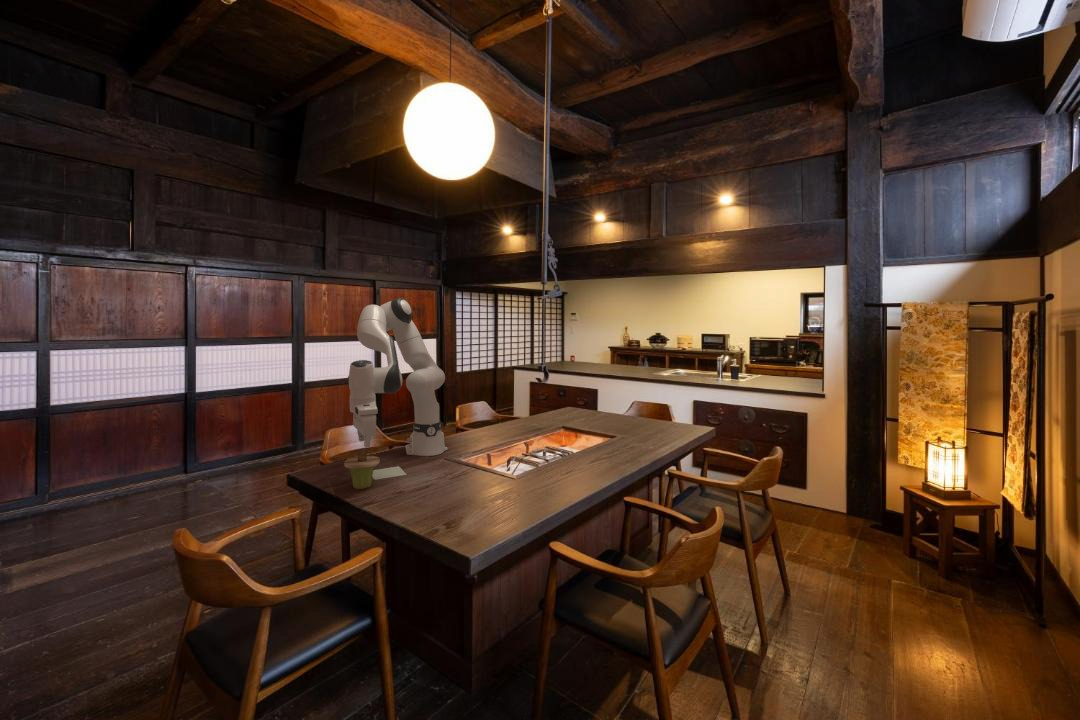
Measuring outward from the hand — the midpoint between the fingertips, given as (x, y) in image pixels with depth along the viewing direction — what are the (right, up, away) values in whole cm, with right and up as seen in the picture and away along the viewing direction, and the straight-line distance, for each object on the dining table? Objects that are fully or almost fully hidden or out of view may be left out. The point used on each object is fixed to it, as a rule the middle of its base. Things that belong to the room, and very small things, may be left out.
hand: (364, 443), depth 168 cm
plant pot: (-1, -16, +2) cm, 16 cm away
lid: (-1, -7, +1) cm, 7 cm away
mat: (+3, -15, +16) cm, 22 cm away
